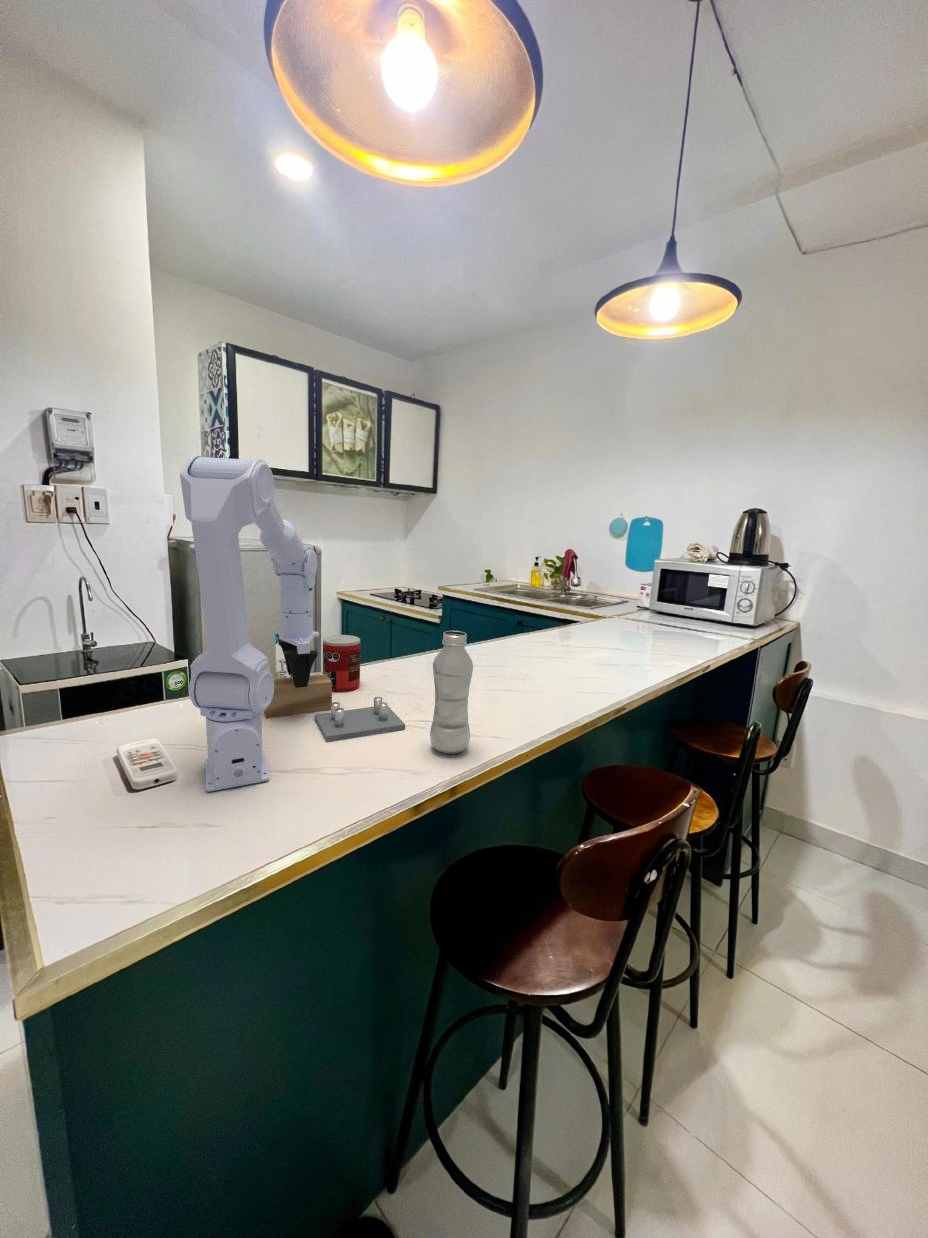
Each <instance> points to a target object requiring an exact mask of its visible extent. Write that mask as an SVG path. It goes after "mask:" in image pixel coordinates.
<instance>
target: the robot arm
mask: <svg viewBox="0 0 928 1238" xmlns="http://www.w3.org/2000/svg"><path fill="white" fill-rule="evenodd" d="M179 479H180V486H181V492H182V500H183V507H184V508H183V509H184V513H185V518H186V519H187V520H188V521H189V522H190V524H191V529H192V530H191V531H192V537H193V545H194V553H195V560H196V569H197V574H198V581H199V588H200V595H201V603H202V611H203V618H204V619H203V620H204V626H205V633H206V639H207V649H206V650H205V651H203V652H202V653H200V654H199V655H198V656H197V657H196V658H195V659H194V660H193V661H192V663H191V664H190V665H189V667H190V682H189V689H188V694H189V698H190V701H191V703H192V705H193V706H194V707H195V708H197V709H199V713H200V716H203V717H205V724H206V725H205V726H206V729H205V730H206V741H207V742H206V745H207V757H206V758H205V760H204V761H205V762H204V764H205V767H204V768H205V791H206V792H214V791H219V790H224V789H231V788H235V787H241V786H246V785H251V784H257V783H261V782H262V783H263V782H267V781H270V774H269V773H270V772H269V769H268V765H267V762H266V761H267V760H266V758H265V754H264V750H263V730H262V729H263V728H262V727H263V724H262V713H264V710H265V709H266V708H267V707H268V706H269V705H270V703H271V701H272V698H273V694H274V679H275V678H274V676H273V674H272V672H271V670H270V664H269V660H268V659H269V658H268V657H267V656H266V655H265V654H264V653H263V652H262V651H260V650H259V649H258V648H256V647H255V646H253V645H252V644H251V642H250V634H249V624H248V623H249V622H248V613H247V605H246V596H245V587H244V578H243V569H242V558H241V550H240V540H239V535H240V532H241V530H242V528H244V527H247V526H249V525H251V524H255V525H256V526H257V527H258V528H259V530H260V534H259V539H260V542H261V544H262V545H263V546H264V548H265V549H266V550H267V552H268V553H269V555H270V559H271V560H270V561H271V563H272V568H273V572H274V574H275V575H276V576H277V577H279V612H280V613H279V615H280V616H279V621H280V633H279V638H278V639H277V642H278V644H279V646H280V648H281V651H282V654H283V657H284V661H285V662H284V663H285V666H286V670H287V673H288V676H291V677H293V682H294V685H295V687H296V688H300V687H307V685H308V681H309V677H310V676H311V672H312V668H313V666H314V662H315V661H316V659H317V657H318V655H319V651H318V650H317V649H313V650H312V649H310V648H311V645H310V644H311V642H312V641H313V640H314V638H319V637H320V632H318V631H314V628H313V627H314V626H313V623H314V621H313V619H314V618H313V616H314V615H313V609H314V608H313V587H315V584H316V573H317V569H318V558H317V557H318V555H317V554H316V551H315V550H314V549H312V548H311V547H310V546H306V545H305V543H304V542H303V540H302V539H301V537H300V535H299V533H298V532H297V530H296V528H295V527H294V525H293V524H292V523H291V522H290V521H289V520H286V519H282V516H281V514H280V512H279V510H278V508H277V506H276V503H275V501H274V493H275V479H274V475H273V472H272V469H271V468H270V466H269V465H268V463H267V462H266V460H264V459H261V458H255V459H244V458H227V457H226V458H225V457H207V456H201V455H193V456H191V457H190V458H189V459H188V460H187V462H185V465H184V466H183V468H182V470H181V471H180V473H179Z"/></svg>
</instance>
